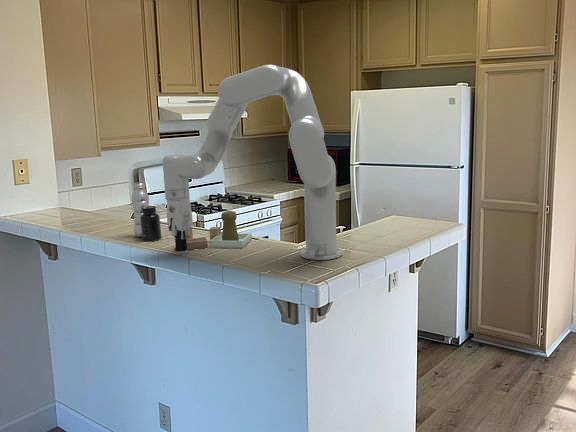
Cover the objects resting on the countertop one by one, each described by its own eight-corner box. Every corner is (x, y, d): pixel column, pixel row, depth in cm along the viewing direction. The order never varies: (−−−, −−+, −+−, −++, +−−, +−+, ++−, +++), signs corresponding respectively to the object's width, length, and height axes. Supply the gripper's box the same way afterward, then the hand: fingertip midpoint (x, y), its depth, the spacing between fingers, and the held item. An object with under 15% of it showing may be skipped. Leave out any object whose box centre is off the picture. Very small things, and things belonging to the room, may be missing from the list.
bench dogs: (218, 242, 197) (217, 228, 196) (181, 242, 200) (180, 228, 199) (221, 240, 200) (220, 226, 199) (185, 240, 203) (184, 226, 202)
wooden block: (208, 249, 190) (207, 240, 189) (177, 252, 187) (176, 243, 187) (205, 245, 195) (205, 237, 195) (176, 248, 193) (175, 239, 192)
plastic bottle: (139, 239, 207) (134, 184, 203) (131, 236, 212) (126, 183, 208) (155, 236, 211) (151, 182, 207) (147, 233, 216) (143, 181, 212)
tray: (242, 248, 188) (242, 241, 187) (210, 247, 190) (209, 240, 190) (251, 240, 199) (251, 233, 198) (221, 240, 201) (220, 233, 201)
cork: (234, 245, 190) (232, 213, 188) (218, 244, 192) (216, 212, 190) (242, 241, 195) (240, 209, 193) (226, 240, 197) (224, 209, 195)
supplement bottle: (151, 236, 211) (149, 204, 208) (165, 238, 207) (162, 205, 205) (138, 240, 205) (135, 208, 203) (151, 242, 201) (149, 209, 199)
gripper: (179, 198, 171) (183, 257, 175) (197, 190, 186) (200, 245, 189) (155, 198, 173) (160, 256, 176) (175, 190, 187) (179, 244, 191)
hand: (181, 250), depth 183 cm, fingers closed
